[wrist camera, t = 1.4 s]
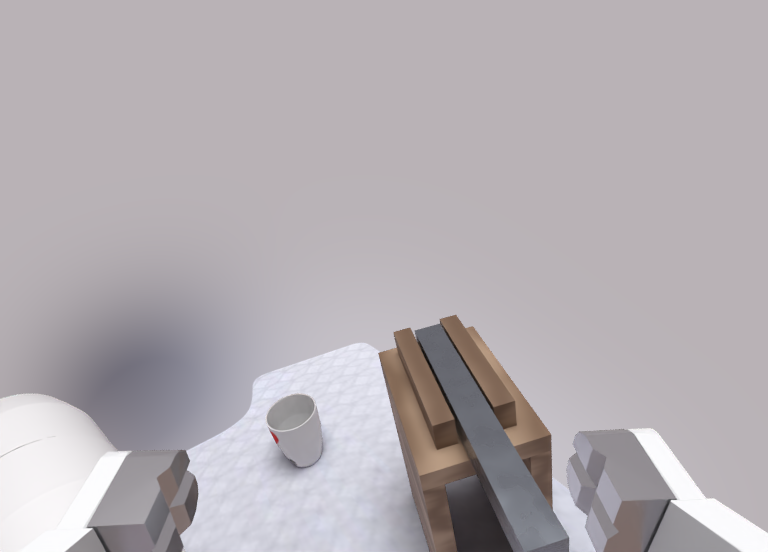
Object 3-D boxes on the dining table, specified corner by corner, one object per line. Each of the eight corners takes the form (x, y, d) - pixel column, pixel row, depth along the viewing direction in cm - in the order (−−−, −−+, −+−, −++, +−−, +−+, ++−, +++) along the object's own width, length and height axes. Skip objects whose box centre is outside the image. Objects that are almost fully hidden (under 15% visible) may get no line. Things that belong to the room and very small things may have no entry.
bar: (526, 579, 29) (524, 552, 28) (418, 351, 52) (414, 330, 51) (568, 564, 30) (569, 537, 28) (442, 344, 53) (439, 323, 51)
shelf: (454, 631, 50) (414, 451, 36) (412, 493, 66) (373, 332, 52) (554, 596, 51) (550, 409, 38) (489, 468, 67) (470, 305, 53)
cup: (286, 441, 79) (268, 399, 75) (330, 431, 79) (316, 388, 75) (281, 480, 72) (262, 436, 67) (330, 469, 72) (314, 425, 67)
